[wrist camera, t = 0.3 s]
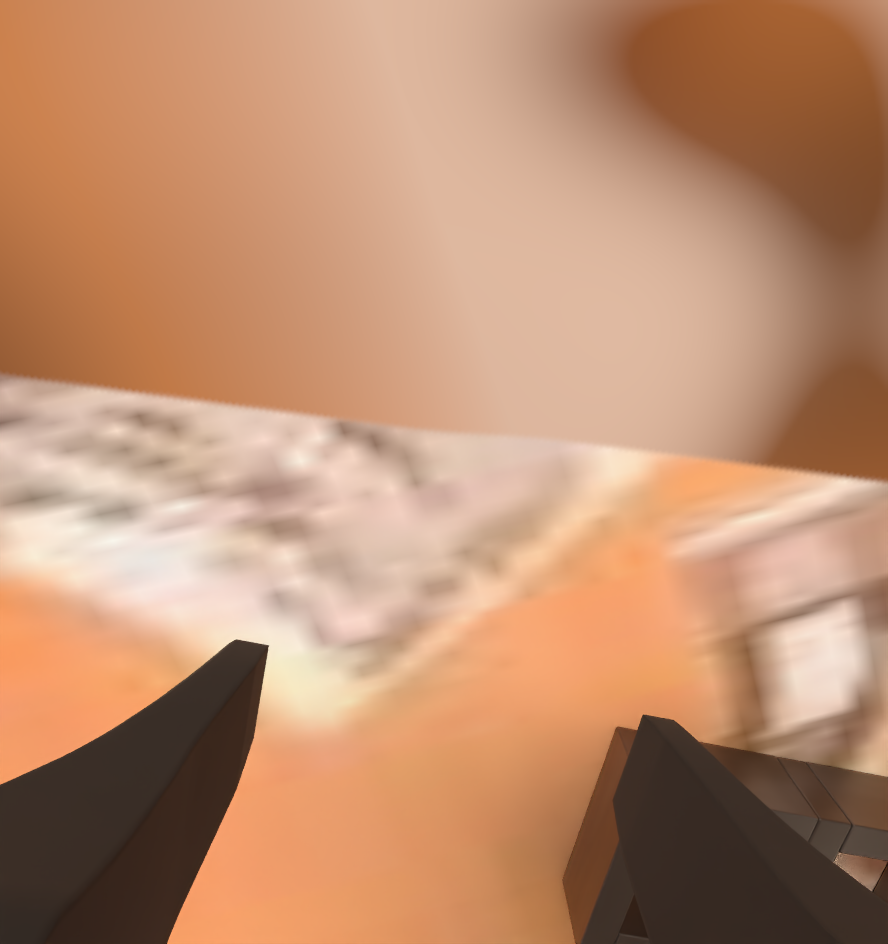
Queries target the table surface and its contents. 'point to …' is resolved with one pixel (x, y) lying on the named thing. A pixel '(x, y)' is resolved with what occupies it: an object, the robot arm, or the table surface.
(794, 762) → the rack
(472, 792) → the table surface
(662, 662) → the table surface
